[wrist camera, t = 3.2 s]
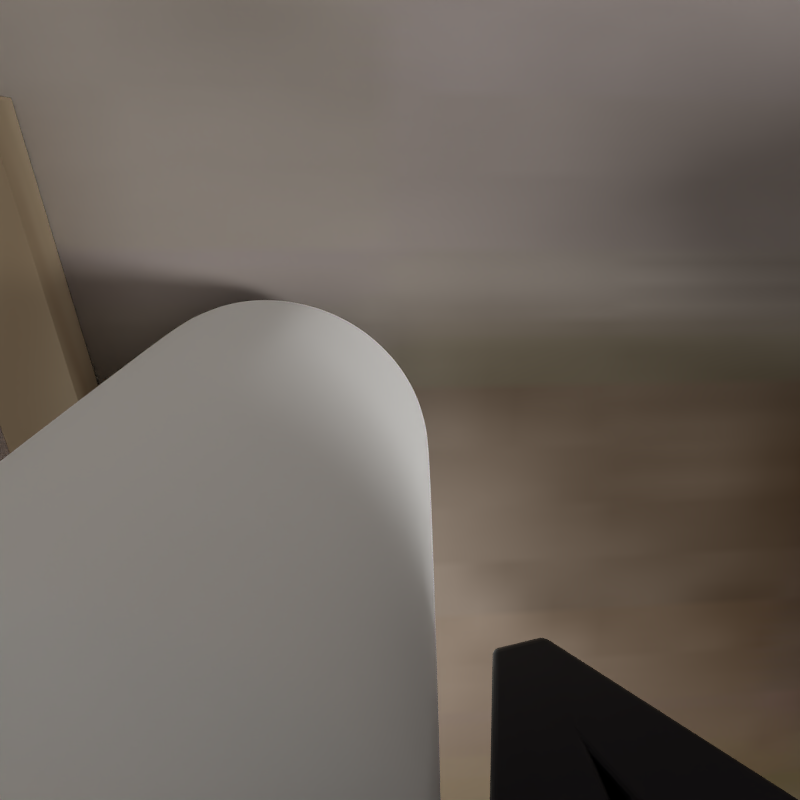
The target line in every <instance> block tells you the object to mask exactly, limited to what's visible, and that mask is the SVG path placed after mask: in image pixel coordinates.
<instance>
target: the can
mask: <svg viewBox="0 0 800 800" xmlns="http://www.w3.org/2000/svg"><path fill="white" fill-rule="evenodd" d="M0 800H440V764H439V727H438V693H437V659H436V628H435V598H434V568H433V541H432V514H431V490H430V468H429V451H428V440H427V432H426V427H425V422H424V418H423V414H422V411H421V408H420V405H419V402H418V399H417V397H416V395H415V392H414V390H413V388H412V386H411V384H410V383H409V381H408V379H407V377H406V376H405V374H404V373H403V371H402V370H401V368H400V367H399V366H398V364H397V363H396V362H395V360H394V359H393V358H392V357H391V356H390V355H389V354H388V352H387V351H386V350H385V349H384V348H383V347H382V346H381V345H379V344H378V343H377V342H376V341H375V340H374V339H373V338H371V337H370V336H369V335H368V334H366V333H365V332H364V331H362V330H361V329H359V328H358V327H356V326H355V325H353V324H351V323H350V322H348V321H346V320H344V319H342V318H340V317H338V316H336V315H334V314H332V313H329V312H327V311H324V310H321V309H318V308H315V307H312V306H308V305H304V304H300V303H294V302H288V301H278V300H254V301H245V302H238V303H233V304H229V305H225V306H221V307H218V308H215V309H212V310H210V311H207V312H205V313H203V314H200V315H198V316H196V317H194V318H192V319H190V320H188V321H187V322H185V323H183V324H182V325H180V326H179V327H177V328H176V329H174V330H173V331H171V332H170V333H168V334H167V335H166V336H164V337H163V338H161V339H160V340H159V341H157V342H156V343H155V344H153V345H152V346H151V347H149V348H148V349H146V350H145V351H144V352H142V353H141V354H140V355H139V356H137V357H136V358H135V359H133V360H132V361H131V362H129V363H128V364H127V365H125V366H124V367H123V368H121V369H120V370H119V371H117V372H116V373H115V374H113V375H112V376H111V377H109V378H108V379H107V380H105V381H104V382H103V383H102V384H100V385H99V386H98V387H96V388H95V389H94V390H92V391H91V392H90V393H88V394H87V395H86V396H84V397H83V398H82V399H81V400H79V401H78V402H77V403H75V404H74V405H73V406H71V407H70V408H69V409H67V410H66V411H65V412H63V413H62V414H61V415H60V416H58V417H57V418H56V419H54V420H53V421H52V422H50V423H49V424H48V425H47V426H45V427H44V428H43V429H41V430H40V431H39V432H37V433H36V434H35V435H33V436H32V437H31V438H30V439H28V440H27V441H26V442H24V443H23V444H22V445H20V446H19V447H18V448H17V449H15V450H14V451H13V452H11V453H10V454H9V455H7V456H6V457H5V458H4V459H2V460H1V461H0Z"/></svg>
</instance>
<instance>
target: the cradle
mask: <svg viewBox="0 0 800 800" xmlns="http://www.w3.org/2000/svg"><path fill="white" fill-rule="evenodd" d="M96 387H98V384H97V381H96V377H95V374H94V371H93V367H92V364H91V361H90V357H89V354H88V351H87V348H86V344H85V341H84V338H83V334H82V331H81V328H80V324H79V321H78V318H77V314H76V311H75V308H74V305H73V301H72V298H71V295H70V291H69V288H68V285H67V281H66V278H65V275H64V272H63V268H62V265H61V262H60V258H59V255H58V252H57V248H56V245H55V242H54V238H53V235H52V232H51V229H50V225H49V222H48V219H47V215H46V212H45V209H44V205H43V202H42V199H41V196H40V192H39V189H38V186H37V182H36V179H35V176H34V172H33V169H32V166H31V162H30V159H29V156H28V153H27V149H26V146H25V143H24V139H23V136H22V133H21V129H20V126H19V123H18V120H17V116H16V113H15V110H14V106H13V103H12V100H11V98H8V97H1V96H0V427H1V430H2V432H3V435H4V438H5V441H6V444H7V446H8V449H9V452H10V453H11V452H13V451H14V450H15V449H17V448H18V447H19V446H20V445H22V444H23V443H24V442H26V441H27V440H28V439H30V438H31V437H32V436H33V435H35V434H36V433H37V432H39V431H40V430H41V429H43V428H44V427H45V426H47V425H48V424H49V423H50V422H52V421H53V420H54V419H56V418H57V417H58V416H60V415H61V414H62V413H63V412H65V411H66V410H67V409H69V408H70V407H71V406H73V405H74V404H75V403H77V402H78V401H79V400H81V399H82V398H83V397H84V396H86V395H87V394H88V393H90V392H91V391H92V390H94V389H95V388H96Z"/></svg>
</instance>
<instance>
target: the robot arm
mask: <svg viewBox="0 0 800 800" xmlns="http://www.w3.org/2000/svg"><path fill="white" fill-rule="evenodd" d="M490 800H798V799H796V798H795V797H793V796H791V795H790V794H788V793H787V792H785V791H784V790H782V789H780V788H779V787H777V786H776V785H774V784H773V783H771V782H770V781H768V780H766V779H765V778H763V777H762V776H760V775H759V774H757V773H755V772H754V771H752V770H751V769H749V768H748V767H746V766H745V765H743V764H741V763H740V762H738V761H737V760H735V759H734V758H732V757H730V756H729V755H727V754H726V753H724V752H723V751H721V750H720V749H718V748H716V747H715V746H713V745H712V744H710V743H709V742H707V741H705V740H704V739H702V738H701V737H699V736H698V735H696V734H695V733H693V732H691V731H690V730H688V729H687V728H685V727H684V726H682V725H680V724H679V723H677V722H676V721H674V720H673V719H671V718H670V717H668V716H666V715H665V714H663V713H662V712H660V711H659V710H657V709H655V708H654V707H652V706H651V705H649V704H648V703H646V702H645V701H643V700H641V699H640V698H638V697H637V696H635V695H634V694H632V693H630V692H629V691H627V690H626V689H624V688H623V687H621V686H620V685H618V684H616V683H615V682H613V681H612V680H610V679H609V678H607V677H605V676H604V675H602V674H601V673H599V672H598V671H596V670H595V669H593V668H591V667H590V666H588V665H587V664H585V663H584V662H582V661H581V660H579V659H577V658H576V657H574V656H573V655H571V654H570V653H568V652H566V651H565V650H563V649H562V648H560V647H559V646H557V645H555V644H554V643H552V642H551V641H549V640H547V639H544V638H538V639H533V640H529V641H525V642H521V643H517V644H513V645H509V646H505V647H500V648H497V649H495V650H494V652H493V667H492V722H491V775H490Z"/></svg>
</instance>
